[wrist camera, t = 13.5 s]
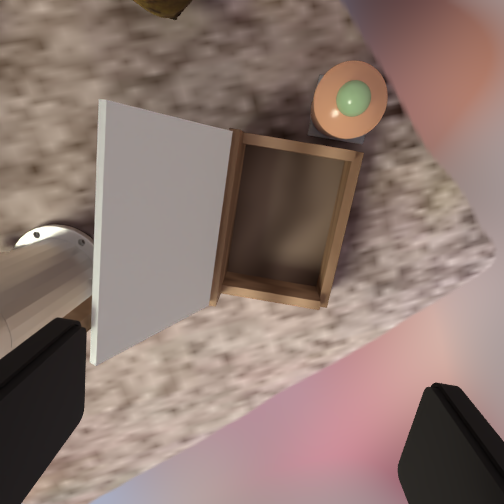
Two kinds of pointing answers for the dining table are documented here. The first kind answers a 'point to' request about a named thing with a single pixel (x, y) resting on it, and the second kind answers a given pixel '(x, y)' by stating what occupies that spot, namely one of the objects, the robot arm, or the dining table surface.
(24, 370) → the robot arm
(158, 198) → the lid
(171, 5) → the potato
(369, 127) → the terracotta pot
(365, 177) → the dining table surface
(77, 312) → the open wooden box
